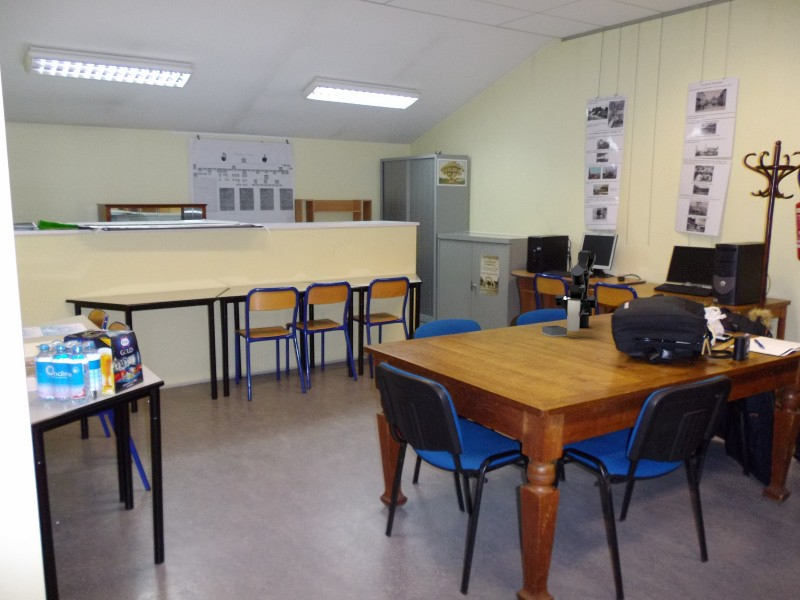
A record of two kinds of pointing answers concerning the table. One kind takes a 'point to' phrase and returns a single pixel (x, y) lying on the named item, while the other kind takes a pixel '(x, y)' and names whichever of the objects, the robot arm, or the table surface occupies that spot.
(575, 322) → the paper towel roll
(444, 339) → the table surface
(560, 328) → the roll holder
